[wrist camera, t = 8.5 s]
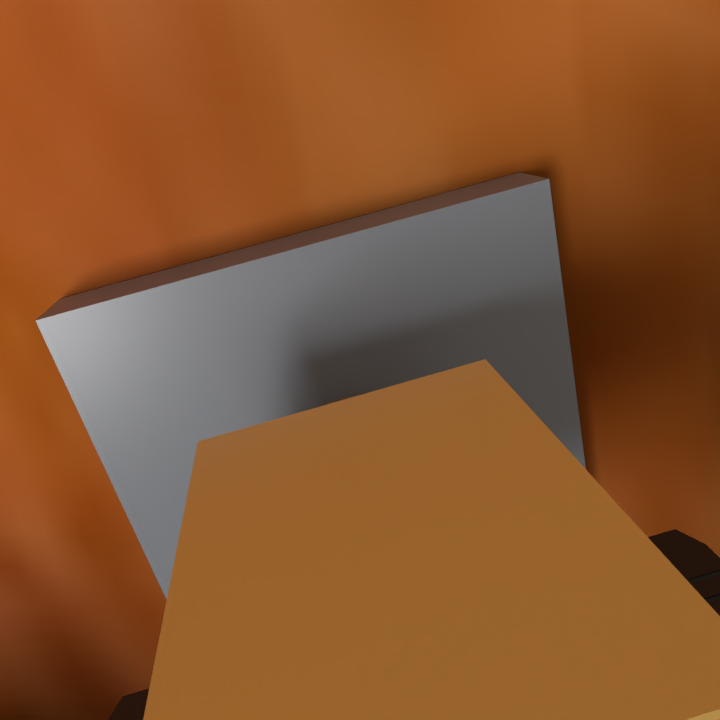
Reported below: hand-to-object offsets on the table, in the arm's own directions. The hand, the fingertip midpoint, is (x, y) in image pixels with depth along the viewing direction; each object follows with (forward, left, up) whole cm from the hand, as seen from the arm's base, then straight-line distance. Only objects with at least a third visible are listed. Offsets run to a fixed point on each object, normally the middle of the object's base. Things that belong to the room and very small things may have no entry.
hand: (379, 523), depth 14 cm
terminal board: (0, -6, -6) cm, 8 cm away
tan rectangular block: (0, 0, 0) cm, 0 cm away
